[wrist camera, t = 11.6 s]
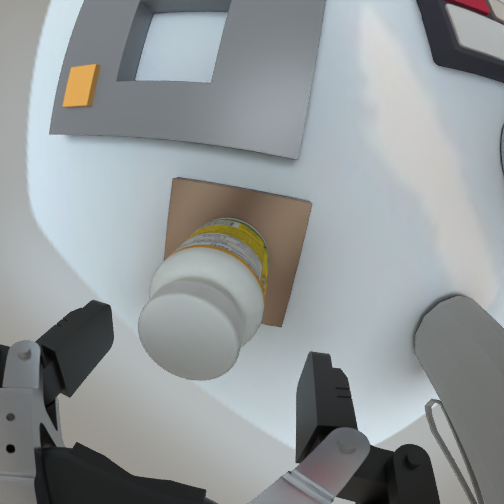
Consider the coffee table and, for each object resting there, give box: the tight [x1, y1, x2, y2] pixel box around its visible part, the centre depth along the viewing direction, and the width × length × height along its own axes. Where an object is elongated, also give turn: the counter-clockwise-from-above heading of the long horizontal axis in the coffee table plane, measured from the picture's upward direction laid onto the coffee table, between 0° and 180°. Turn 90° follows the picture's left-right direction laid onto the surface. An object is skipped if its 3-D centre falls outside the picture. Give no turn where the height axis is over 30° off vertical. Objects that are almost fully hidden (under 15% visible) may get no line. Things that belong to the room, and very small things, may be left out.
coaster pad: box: [164, 177, 312, 327], centre depth 20 cm, size 9×9×1 cm
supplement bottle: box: [138, 218, 269, 380], centre depth 15 cm, size 5×5×10 cm
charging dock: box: [49, 0, 326, 160], centre depth 15 cm, size 18×14×3 cm
